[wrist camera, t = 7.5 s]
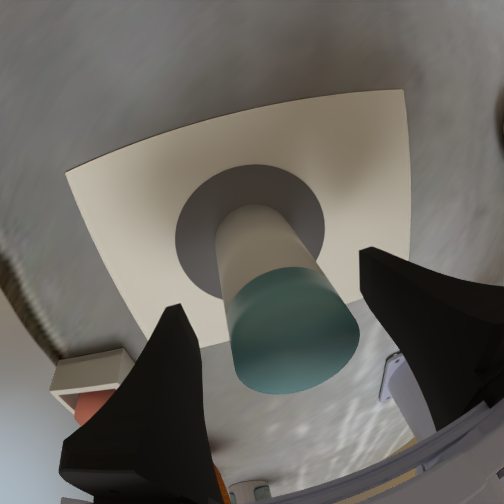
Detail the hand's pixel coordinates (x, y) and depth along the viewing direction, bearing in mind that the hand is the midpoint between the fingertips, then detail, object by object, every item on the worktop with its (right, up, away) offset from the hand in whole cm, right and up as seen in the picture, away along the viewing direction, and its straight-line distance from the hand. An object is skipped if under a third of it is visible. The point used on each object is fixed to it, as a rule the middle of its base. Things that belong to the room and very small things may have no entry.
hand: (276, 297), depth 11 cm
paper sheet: (0, +3, +4) cm, 5 cm away
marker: (-1, +2, +4) cm, 5 cm away
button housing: (-12, -8, +8) cm, 16 cm away
